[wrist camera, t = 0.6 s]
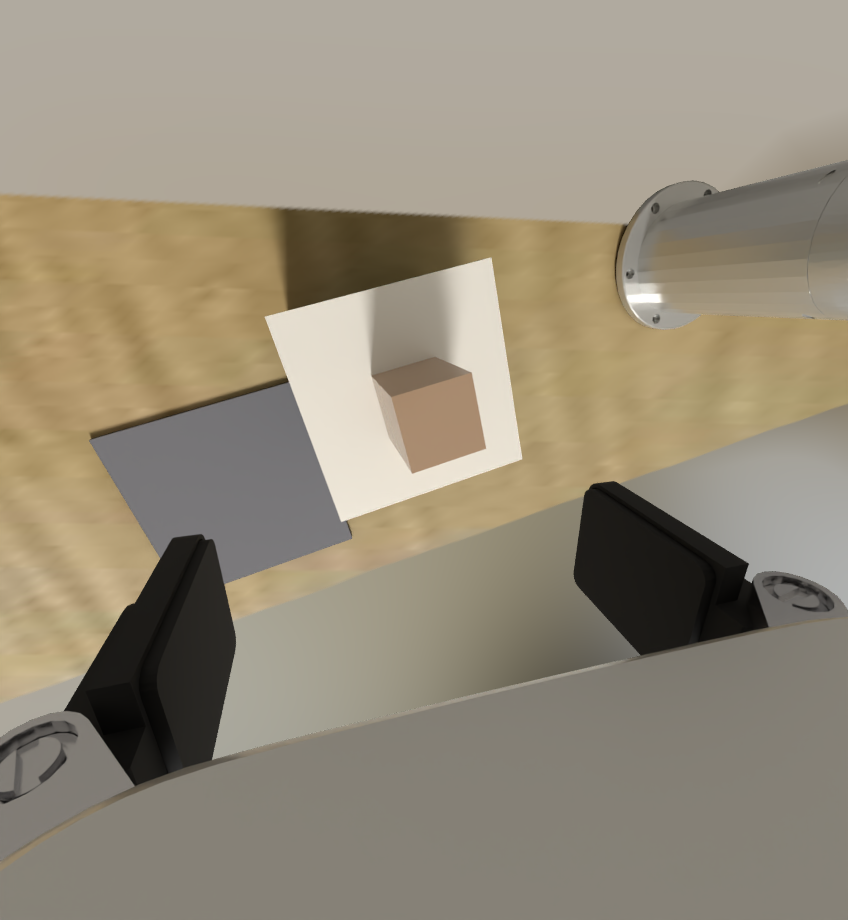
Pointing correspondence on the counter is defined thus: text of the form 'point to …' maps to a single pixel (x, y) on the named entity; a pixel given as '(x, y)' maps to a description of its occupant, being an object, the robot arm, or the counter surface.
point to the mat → (228, 481)
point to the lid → (402, 385)
